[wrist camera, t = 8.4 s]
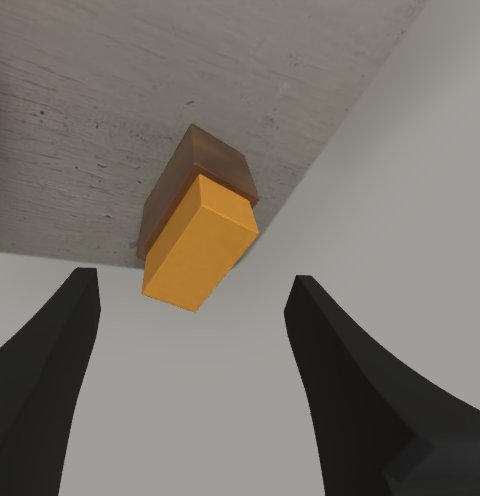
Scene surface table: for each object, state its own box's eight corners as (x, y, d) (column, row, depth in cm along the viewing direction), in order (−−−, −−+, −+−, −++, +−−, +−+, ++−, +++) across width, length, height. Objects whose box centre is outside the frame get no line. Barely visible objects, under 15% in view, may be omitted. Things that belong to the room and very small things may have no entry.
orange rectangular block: (199, 172, 14) (201, 204, 12) (249, 200, 15) (259, 233, 13) (146, 255, 17) (140, 294, 14) (193, 274, 18) (195, 313, 16)
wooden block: (244, 155, 19) (260, 199, 15) (194, 227, 22) (197, 281, 18) (191, 122, 18) (194, 162, 14) (144, 204, 20) (135, 257, 16)
